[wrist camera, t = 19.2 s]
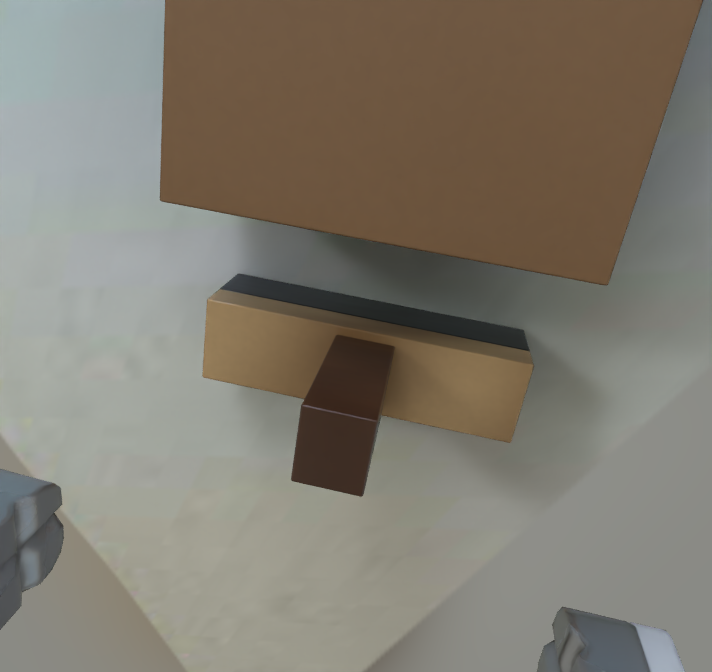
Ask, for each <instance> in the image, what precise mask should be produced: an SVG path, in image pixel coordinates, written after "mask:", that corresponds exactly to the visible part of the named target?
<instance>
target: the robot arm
mask: <svg viewBox="0 0 712 672" xmlns="http://www.w3.org/2000/svg"><path fill="white" fill-rule="evenodd" d="M61 505H62V496H61V488H60V487H59V486H57V485H56V484H54V483H51V482H47V481H44V480H40V479H36V478H33V477H29V476H25V475H21V474H18V473H14V472H10V471H6V470H3V469H0V630H1V628H2V627H3V626H4V625H5V624H6V622H7V621H8V620H9V619H10V618H11V617H12V616H13V615H14V614H15V612H16V611H17V610H18V609H19V608H20V606H21V601H22V592H24V591H26V590H28V589H30V588H32V587H34V586H37V585H39V584H41V582H42V581H43V580H44V579H45V578H46V576H47V575H48V574H49V573H50V572H51V570H52V569H53V567H54V565H55V563H56V561H57V559H58V557H59V555H60V553H61V549H62V544H63V539H64V531H63V525H62V523H61V522H60V520H59V519H58V518H57V516H56V515H55V513H54V512H55V511H56V510H57V509H58V508H59V507H60V506H61ZM552 626H553V633H554V639H555V640H554V641H552V642H550V643H548V644H547V645H545V646H544V648H543V650H542V653H541V656H540V659H539V662H538V669H537V672H685V670H684V667H683V665H682V662H681V660H680V657H679V655H678V653H677V650H676V647H675V645H674V642H673V640H672V637H671V636H670V635H669V633H668V632H667V631H666V630H663V629H658V628H655V627H650V626H646V625H641V624H637V623H632V622H630V623H628V622H626V621H622V620H618V619H613V618H609V617H605V616H601V615H597V614H592V613H588V612H584V611H579V610H575V609H571V608H566V607H562V608H561V609H560V610H559V611H558V612H557V614H556V617H555V619H554V622H553V624H552Z"/></svg>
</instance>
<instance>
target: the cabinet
mask: <svg viewBox="0 0 712 672" xmlns="http://www.w3.org/2000/svg"><path fill="white" fill-rule="evenodd" d="M702 2H703V0H165V29H164V66H163V102H162V139H161V176H160V201H162V202H168V203H173V204H178V205H183V206H189V207H194V208H199V209H205V210H210V211H215V212H220V213H226V214H231V215H236V216H241V217H247V218H252V219H257V220H263V221H268V222H273V223H278V224H284V225H289V226H294V227H299V228H305V229H310V230H315V231H321V232H326V233H331V234H336V235H342V236H347V237H352V238H357V239H363V240H368V241H373V242H378V243H384V244H389V245H394V246H400V247H405V248H410V249H415V250H421V251H426V252H431V253H436V254H442V255H447V256H452V257H458V258H463V259H468V260H473V261H479V262H484V263H489V264H494V265H500V266H505V267H510V268H516V269H521V270H526V271H531V272H537V273H542V274H547V275H552V276H558V277H563V278H568V279H574V280H579V281H584V282H589V283H595V284H600V285H608V283H609V280H610V277H611V274H612V271H613V268H614V265H615V262H616V259H617V256H618V253H619V250H620V247H621V244H622V241H623V239H624V236H625V233H626V230H627V227H628V224H629V221H630V218H631V215H632V212H633V209H634V206H635V203H636V200H637V197H638V194H639V191H640V188H641V185H642V182H643V179H644V176H645V173H646V170H647V167H648V164H649V161H650V158H651V155H652V152H653V149H654V146H655V143H656V140H657V137H658V134H659V131H660V128H661V125H662V122H663V119H664V116H665V113H666V110H667V107H668V104H669V101H670V98H671V95H672V92H673V89H674V86H675V83H676V80H677V77H678V74H679V71H680V68H681V65H682V62H683V59H684V56H685V53H686V50H687V47H688V44H689V41H690V38H691V35H692V32H693V29H694V26H695V23H696V20H697V17H698V14H699V11H700V8H701V5H702Z"/></svg>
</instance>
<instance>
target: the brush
mask: <svg viewBox="0 0 712 672" xmlns="http://www.w3.org/2000/svg"><path fill="white" fill-rule="evenodd" d="M533 368H534V364H533V361H532V357H531V354H530V350H529V347H528V344H527V340H526V337H525V334H524V331H523V330H520V329H515V328H510V327H505V326H500V325H495V324H490V323H485V322H480V321H475V320H470V319H465V318H460V317H455V316H450V315H445V314H440V313H435V312H430V311H425V310H419V309H414V308H409V307H404V306H399V305H394V304H389V303H384V302H379V301H374V300H369V299H364V298H359V297H354V296H349V295H344V294H339V293H334V292H329V291H324V290H319V289H314V288H308V287H303V286H298V285H293V284H288V283H283V282H278V281H273V280H268V279H263V278H258V277H253V276H248V275H243V274H237V275H236V276H235V277H234V278H232V279H231V280H230V281H229V282H228V283H226V284H225V285H224V286H223V287H221V288H220V289H219V290H218V291H217V292H216V293H214V294H213V295H212V296H211V297H209V298H208V299H207V311H206V327H205V343H204V360H203V377H204V378H209V379H213V380H218V381H223V382H227V383H232V384H237V385H241V386H246V387H251V388H256V389H260V390H265V391H270V392H274V393H279V394H284V395H288V396H293V397H298V398H302V399H304V401H303V403H302V405H301V411H300V418H299V425H298V433H297V440H296V447H295V455H294V462H293V469H292V477H291V480H292V481H294V482H299V483H303V484H308V485H312V486H316V487H321V488H325V489H330V490H334V491H339V492H343V493H348V494H352V495H356V496H363V494H364V490H365V486H366V481H367V477H368V472H369V468H370V463H371V459H372V455H373V450H374V446H375V441H376V437H377V432H378V428H379V423H380V419H381V415H382V416H387V417H391V418H396V419H401V420H406V421H410V422H415V423H420V424H424V425H429V426H434V427H438V428H443V429H448V430H452V431H457V432H462V433H466V434H471V435H476V436H480V437H485V438H490V439H495V440H499V441H504V442H509V443H510V442H511V441H512V437H513V434H514V431H515V428H516V424H517V421H518V418H519V414H520V411H521V408H522V404H523V401H524V398H525V394H526V391H527V388H528V384H529V381H530V378H531V375H532V371H533Z"/></svg>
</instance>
